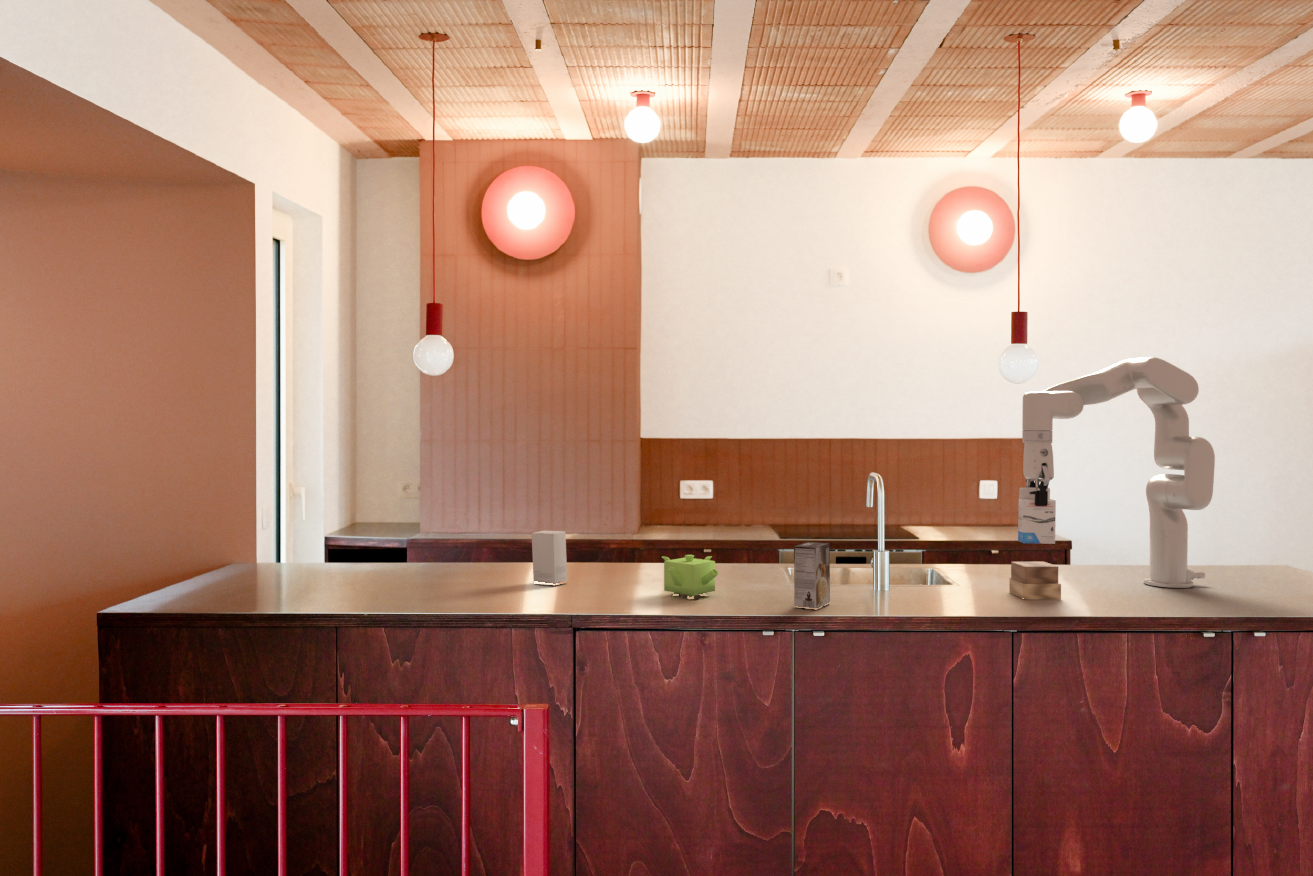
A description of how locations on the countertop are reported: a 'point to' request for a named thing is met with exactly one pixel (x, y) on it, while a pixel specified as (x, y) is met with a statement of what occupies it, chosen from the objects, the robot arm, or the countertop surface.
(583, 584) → the countertop surface
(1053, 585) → the tower base
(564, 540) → the skincare box
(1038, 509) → the ink box
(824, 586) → the coffee box
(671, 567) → the kettle
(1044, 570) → the tower top
